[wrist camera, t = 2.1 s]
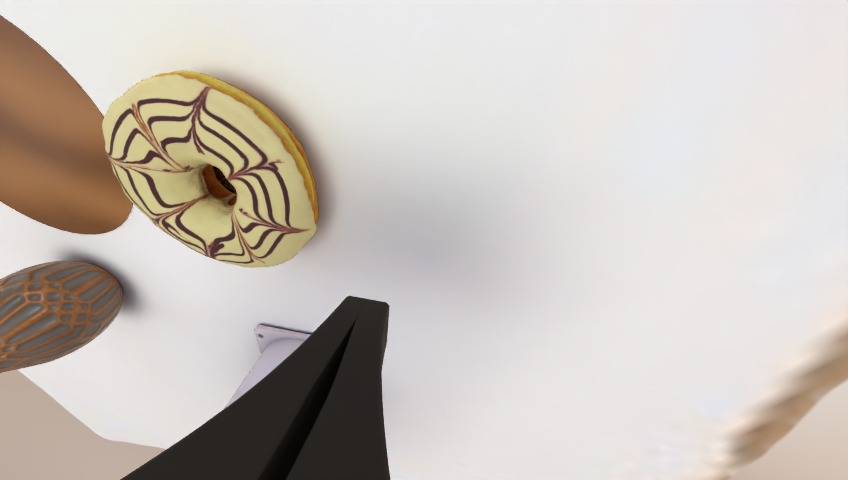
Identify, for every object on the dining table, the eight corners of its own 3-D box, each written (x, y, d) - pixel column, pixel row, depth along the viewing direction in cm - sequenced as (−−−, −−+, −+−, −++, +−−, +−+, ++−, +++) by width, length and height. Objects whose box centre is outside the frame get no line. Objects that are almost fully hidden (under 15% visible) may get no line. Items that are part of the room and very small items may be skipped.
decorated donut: (241, 260, 22) (203, 295, 19) (119, 118, 18) (42, 134, 14) (359, 221, 19) (336, 256, 16) (248, 32, 14) (184, 28, 11)
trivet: (167, 248, 23) (165, 249, 23) (-12, 215, 24) (-15, 216, 24) (59, -1, 15) (54, -1, 15) (-208, -38, 16) (-216, -39, 15)
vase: (44, 267, 26) (-123, 352, 19) (73, 233, 23) (-109, 319, 16) (119, 318, 29) (-1, 410, 21) (153, 293, 26) (28, 390, 19)
